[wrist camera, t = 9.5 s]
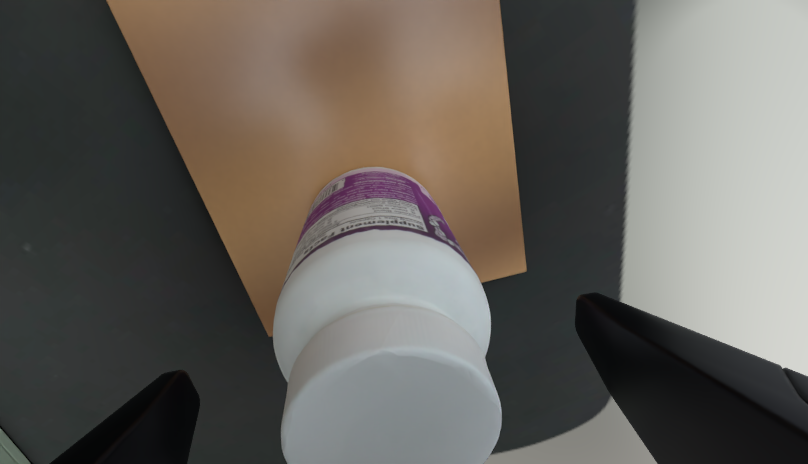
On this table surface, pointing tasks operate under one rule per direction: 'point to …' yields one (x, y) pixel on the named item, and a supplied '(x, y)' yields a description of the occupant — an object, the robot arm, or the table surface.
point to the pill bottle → (383, 332)
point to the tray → (10, 451)
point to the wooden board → (333, 115)
